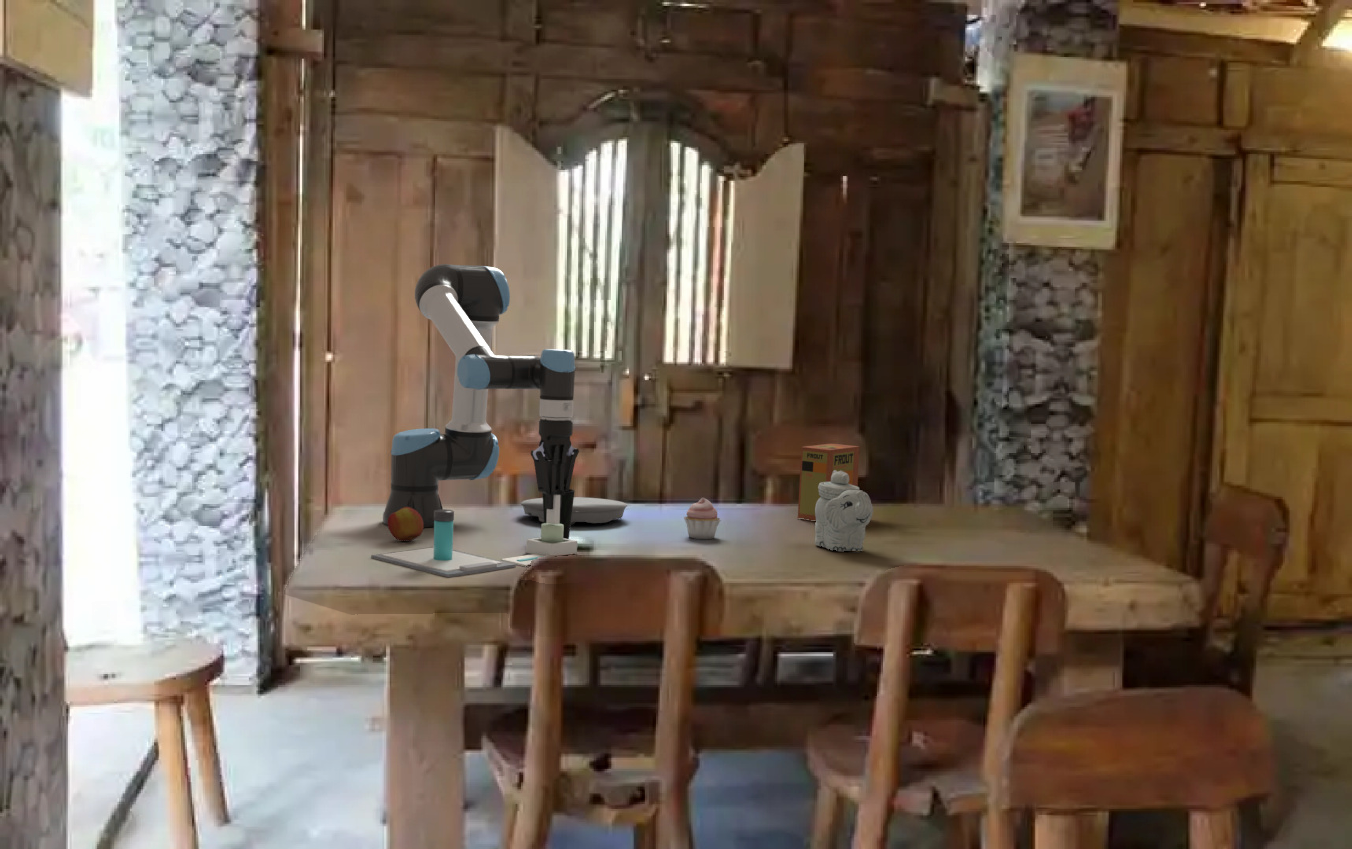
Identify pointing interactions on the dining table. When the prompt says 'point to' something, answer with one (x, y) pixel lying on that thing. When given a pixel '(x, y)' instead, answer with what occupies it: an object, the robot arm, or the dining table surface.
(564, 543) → the button box
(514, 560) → the card
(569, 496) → the cup
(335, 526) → the dining table surface
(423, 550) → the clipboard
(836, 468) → the box
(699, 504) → the cupcake
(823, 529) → the white elephant jar
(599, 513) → the flat disc
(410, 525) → the apple
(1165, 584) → the dining table surface
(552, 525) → the button
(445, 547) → the teal bottle
